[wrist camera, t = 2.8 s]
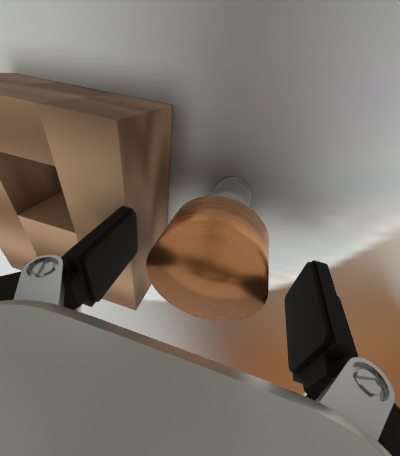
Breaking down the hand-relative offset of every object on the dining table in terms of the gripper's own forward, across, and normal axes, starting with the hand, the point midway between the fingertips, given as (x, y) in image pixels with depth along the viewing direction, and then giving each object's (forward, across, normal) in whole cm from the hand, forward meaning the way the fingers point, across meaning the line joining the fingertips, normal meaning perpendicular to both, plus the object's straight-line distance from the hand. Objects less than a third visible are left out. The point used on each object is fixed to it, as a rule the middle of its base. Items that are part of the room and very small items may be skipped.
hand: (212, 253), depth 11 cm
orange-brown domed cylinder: (+6, 0, -1) cm, 6 cm away
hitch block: (+6, +11, +2) cm, 13 cm away
